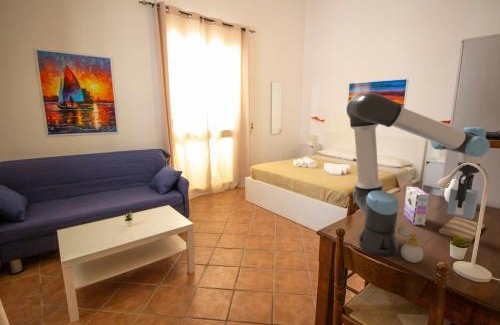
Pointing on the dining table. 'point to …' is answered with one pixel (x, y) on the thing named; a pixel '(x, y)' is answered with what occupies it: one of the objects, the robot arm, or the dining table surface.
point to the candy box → (416, 205)
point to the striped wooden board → (460, 228)
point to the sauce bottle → (447, 191)
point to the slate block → (469, 205)
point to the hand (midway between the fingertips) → (460, 212)
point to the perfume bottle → (410, 247)
